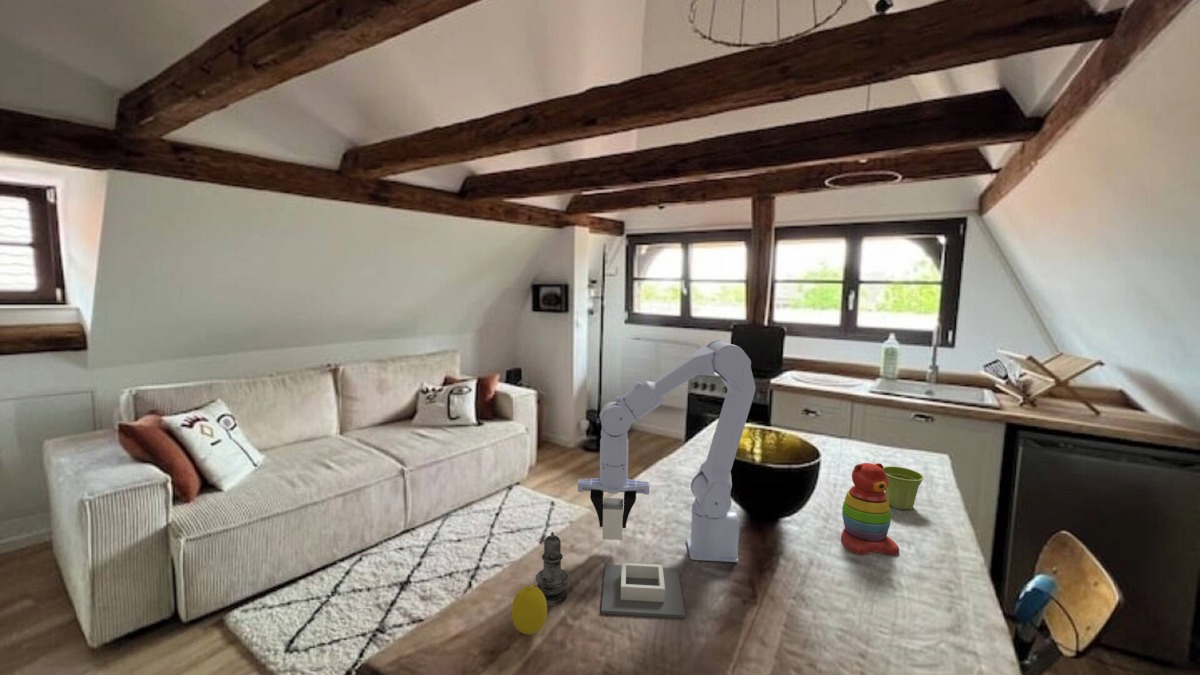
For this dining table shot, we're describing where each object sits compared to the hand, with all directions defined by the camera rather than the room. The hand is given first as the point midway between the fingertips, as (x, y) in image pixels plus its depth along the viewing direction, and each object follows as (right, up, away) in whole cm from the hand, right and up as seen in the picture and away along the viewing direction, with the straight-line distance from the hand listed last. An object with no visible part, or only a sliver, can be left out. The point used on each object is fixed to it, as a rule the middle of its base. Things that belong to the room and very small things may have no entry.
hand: (612, 525), depth 104 cm
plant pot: (+75, -5, +26) cm, 79 cm away
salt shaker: (-11, -7, -15) cm, 20 cm away
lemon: (-14, -8, -24) cm, 29 cm away
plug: (0, -2, 0) cm, 2 cm away
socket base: (+5, -7, -13) cm, 15 cm away
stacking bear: (+55, -6, +6) cm, 56 cm away
